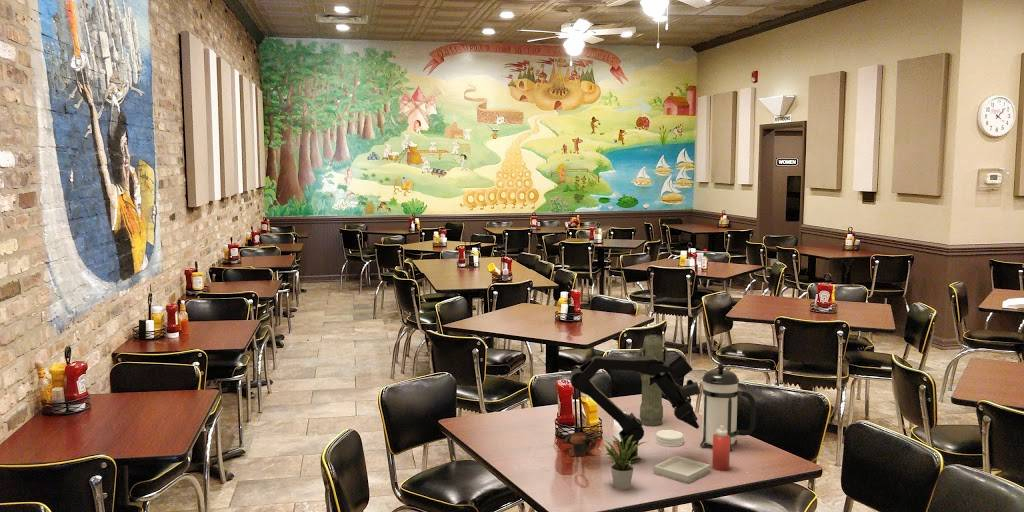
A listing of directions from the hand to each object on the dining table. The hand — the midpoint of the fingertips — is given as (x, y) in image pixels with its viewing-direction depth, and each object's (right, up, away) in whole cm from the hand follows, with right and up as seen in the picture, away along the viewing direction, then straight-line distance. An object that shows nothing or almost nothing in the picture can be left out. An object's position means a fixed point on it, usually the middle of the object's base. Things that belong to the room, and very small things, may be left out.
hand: (697, 424), depth 285 cm
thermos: (-8, -9, +46) cm, 47 cm away
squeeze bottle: (+7, -14, -4) cm, 16 cm away
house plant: (-27, -16, -20) cm, 37 cm away
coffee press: (+13, -12, +19) cm, 26 cm away
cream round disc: (-5, -12, +22) cm, 26 cm away
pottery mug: (-39, -13, +11) cm, 43 cm away
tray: (-7, -14, -9) cm, 18 cm away
